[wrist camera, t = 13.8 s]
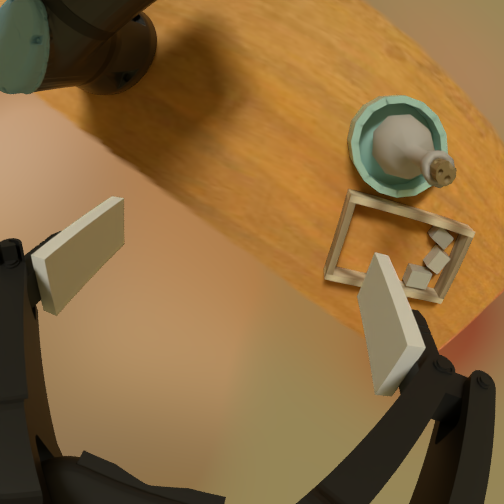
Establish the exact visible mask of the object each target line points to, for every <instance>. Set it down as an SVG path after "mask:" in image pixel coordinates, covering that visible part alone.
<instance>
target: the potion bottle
mask: <svg viewBox="0 0 504 504" xmlns="http://www.w3.org/2000/svg"><path fill="white" fill-rule="evenodd" d="M372 155H373V157H374V158H375V160H376V161H377V162H378V164H379V165H380V167H381V168H382V170H383V171H384V172H385V173H386V174H389V175H393V176H397V177H401V178H404V179H412V178H414V177H416V176H418V175H420V174H422V175H423V176H424V178H425V180H426V181H427V183H428V184H429V185H431V186H435V187H438V188H441V187H443V186H447V185H449V184H451V183H452V182H453V180H454V179H455V177H456V168H455V166H454V161H453V158H451V157H450V156H449V155H448V154H447V153H446V152H445V151H439V150H436V151H435V149H434V145H433V141H432V136H431V132H430V131H429V129H428V128H427V127H426V126H424V125H423V124H422V123H421V122H419V121H418V120H417V119H415V118H414V117H413V116H412V115H410V114H408V115H392V116H388V117H387V118H386V119H385V120H384V121H383V122H382V123H381V124H380V125H379V126H378V127H377V128H376V129H375V130H374V132H373V148H372Z"/></svg>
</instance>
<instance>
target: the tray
mask: <svg viewBox="0 0 504 504" xmlns="http://www.w3.org/2000/svg"><path fill="white" fill-rule="evenodd" d="M356 204H360V205H364V206H368V207H372V208H375V209H379V210H383V211H386V212H390V213H393V214H397V215H400V216H404V217H407V218H411V219H414V220H418V221H421V222H424V223H428V224H431V225H434V226H437V227H441V228H444V229H447V230H450V231H453V232H456V233H459V235H458V237H457V240H456V242H455V244H454V247H453V249H452V251H451V254H450V256H449V257H450V260H449V262H448V263H447V264H446V265H445V267H444V269H443V271H442V273H441V275H440V277H439V279H438V281H437V283H436V285H435V287H434V288H430V287H427V288H426V290H425V289H420V288H414V287H409V286H406V285H405V283H404V282H403V281H400V283H401V286H402V288H403V290H404V293H405V295H406V297H411V298H415V299H420V300H425V301H430V302H435V303H440V304H441V303H442V301H443V299H444V297H445V296H446V294H447V292H448V290H449V288H450V286H451V284H452V282H453V280H454V278H455V276H456V274H457V272H458V270H459V268H460V266H461V263H462V261H463V259H464V257H465V255H466V253H467V250H468V248H469V246H470V244H471V241H472V239H473V237H474V234H475V232H474V231H473V230H472V229H471V228H470V227H469V226H468V225H467V224H464V223H461V222H458V221H455V220H452V219H449V218H446V217H443V216H440V215H437V214H434V213H431V212H427V211H424V210H421V209H418V208H415V207H411V206H408V205H405V204H401V203H398V202H395V201H391V200H388V199H384V198H381V197H377V196H373V195H370V194H366V193H362V192H359V191H355V190H351V189H348V191H347V195H346V198H345V202H344V205H343V209H342V212H341V215H340V219H339V222H338V225H337V229H336V232H335V235H334V238H333V242H332V245H331V248H330V251H329V254H328V257H327V260H326V264H325V267H324V279H326V280H330V281H335V282H340V283H344V284H349V285H354V286H358V287H361V286H362V284H363V281H364V279H365V276H366V274H367V273H363V272H358V271H354V270H349V269H345V268H340V267H336V264H337V261H338V258H339V255H340V252H341V249H342V246H343V243H344V240H345V237H346V234H347V230H348V227H349V224H350V221H351V218H352V215H353V211H354V208H355V205H356Z"/></svg>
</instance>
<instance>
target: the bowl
mask: <svg viewBox="0 0 504 504" xmlns="http://www.w3.org/2000/svg"><path fill="white" fill-rule="evenodd" d="M408 114H410V115H412V116H413V117H414V118H415V119H417V120H418V121H419V122H421V123H422V124H423V125H424V126H426V127H427V128H428V129H429V131H430V132H431V136H432V141H433V145H434V149H435V151H436V150H439V151H445V152H446V153H447V154H448V150H447V137H446V132H445V130H444V128H443V126H442V124H441V122H440V120H439V117H438V116H437V115H436V114H435V113H434V112H433V111H432V110H431V109H430V108H429V107H428V106H427V105H426V104H424V103H423V102H421V101H418V100H416V99H413V98H410V97H408V96H405V95H391V96H379V97H377V98H375V99H373V100H371V101H370V102H368V103H366V104H364V105H363V106H362V107H361V108H360V110H359V111H358V112H357V114H356V115H355V116H354V118H353V119H352V121H351V125H350V129H349V133H348V137H347V141H348V148H349V155H350V159H351V160H352V162H353V164H354V166H355V167H356V169H357V171H358V173H359V174H360V176H361V177H362V179H363V180H364V181H365V182H366V183H368V184H369V185H370V186H371V187H373V188H374V189H375V190H376V191H378V192H379V193H382V194H386V195H389V196H392V197H396V198H399V197H408V196H415V195H417V194H419V193H420V192H422V191H424V190H426V189H428V188H429V187H431V185H429V184H428V183H427V181H426V180H425V178H424V176H423V175H422V174H420V175H418V176H416V177H414V178H412V179H404V178H401V177H397V176H393V175H389V174H386V173H385V172H384V171H383V170H382V168H381V167H380V165H379V164H378V162H377V161H376V160H375V158H374V157H373V155H372V148H373V132H374V130H375V129H376V128H377V127H378V126H379V125H380V124H381V123H382V122H383V121H384V120H385V119H386V118H387V117H388V116H392V115H408Z"/></svg>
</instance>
